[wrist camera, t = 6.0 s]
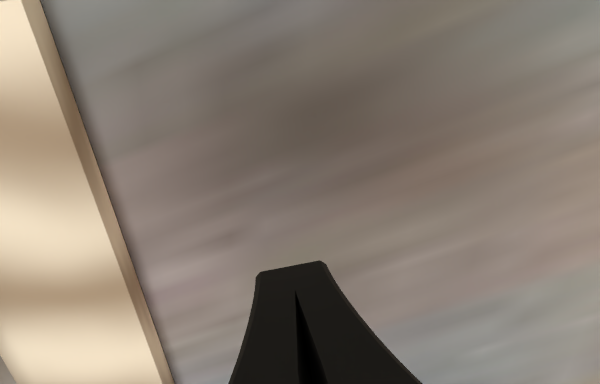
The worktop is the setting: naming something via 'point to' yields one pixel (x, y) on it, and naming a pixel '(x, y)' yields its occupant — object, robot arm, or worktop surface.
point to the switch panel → (60, 232)
